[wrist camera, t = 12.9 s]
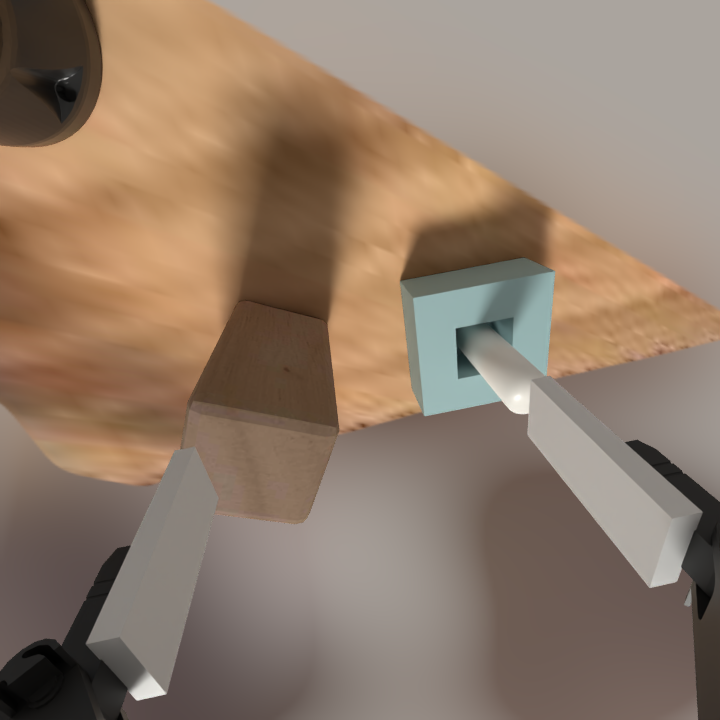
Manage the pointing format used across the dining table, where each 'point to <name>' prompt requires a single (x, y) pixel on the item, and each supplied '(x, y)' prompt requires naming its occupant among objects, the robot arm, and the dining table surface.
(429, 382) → the socket
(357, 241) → the dining table surface
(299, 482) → the wooden block
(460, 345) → the peg
